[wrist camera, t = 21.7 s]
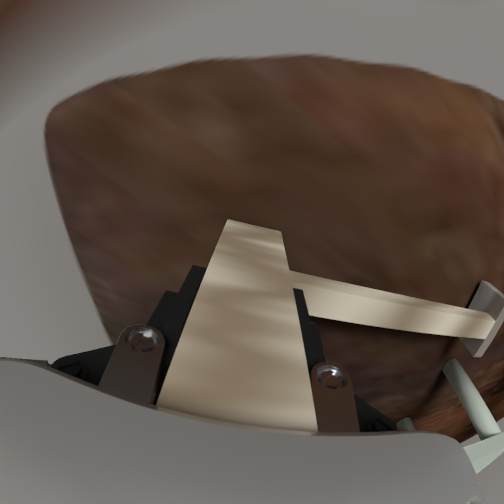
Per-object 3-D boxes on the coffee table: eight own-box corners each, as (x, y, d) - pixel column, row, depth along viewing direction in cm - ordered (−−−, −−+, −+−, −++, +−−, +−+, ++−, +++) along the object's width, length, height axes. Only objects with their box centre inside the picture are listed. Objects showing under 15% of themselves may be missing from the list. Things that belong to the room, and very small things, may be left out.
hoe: (489, 282, 16) (591, 390, 3) (462, 333, 18) (541, 450, 5) (229, 210, 15) (122, 488, 2) (213, 289, 17) (148, 530, 4)
